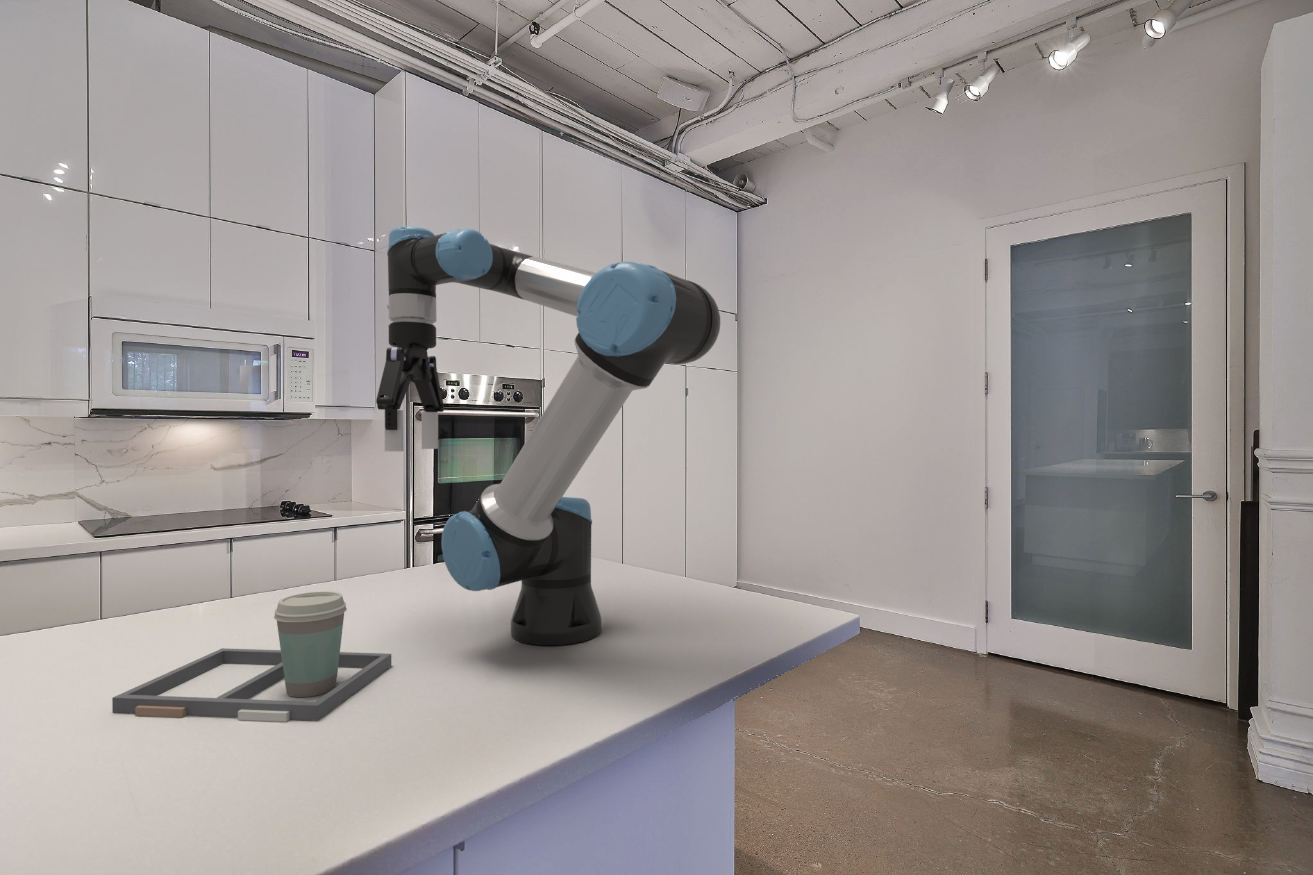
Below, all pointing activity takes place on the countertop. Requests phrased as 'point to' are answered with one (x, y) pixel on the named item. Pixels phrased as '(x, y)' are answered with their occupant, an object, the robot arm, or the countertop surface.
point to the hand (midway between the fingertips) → (413, 450)
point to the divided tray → (246, 689)
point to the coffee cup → (310, 641)
